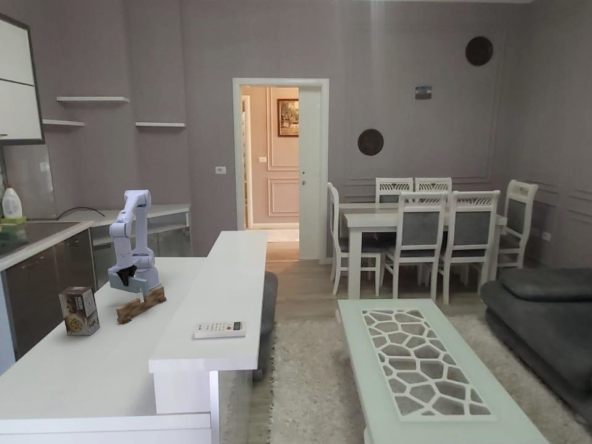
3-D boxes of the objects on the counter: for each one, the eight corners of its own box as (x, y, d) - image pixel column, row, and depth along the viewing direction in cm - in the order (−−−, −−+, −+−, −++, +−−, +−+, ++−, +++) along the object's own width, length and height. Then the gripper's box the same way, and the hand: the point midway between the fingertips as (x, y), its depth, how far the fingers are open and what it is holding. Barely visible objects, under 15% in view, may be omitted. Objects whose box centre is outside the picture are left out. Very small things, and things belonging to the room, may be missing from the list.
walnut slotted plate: (160, 298, 163) (158, 285, 162) (167, 299, 162) (165, 286, 160) (116, 322, 144) (114, 308, 143) (123, 324, 143) (121, 310, 141)
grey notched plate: (110, 287, 157) (108, 273, 156) (113, 286, 159) (111, 272, 157) (146, 295, 149) (144, 281, 147) (149, 294, 150) (147, 280, 149)
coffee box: (100, 326, 142) (94, 286, 138) (90, 336, 136) (82, 294, 132) (77, 325, 143) (70, 285, 139) (66, 335, 137) (57, 293, 132)
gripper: (131, 245, 158) (135, 276, 161) (100, 257, 145) (105, 290, 149) (143, 247, 155) (148, 279, 158) (113, 259, 142) (118, 293, 146)
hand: (128, 284), depth 153 cm, fingers closed on grey notched plate, 2 cm apart
